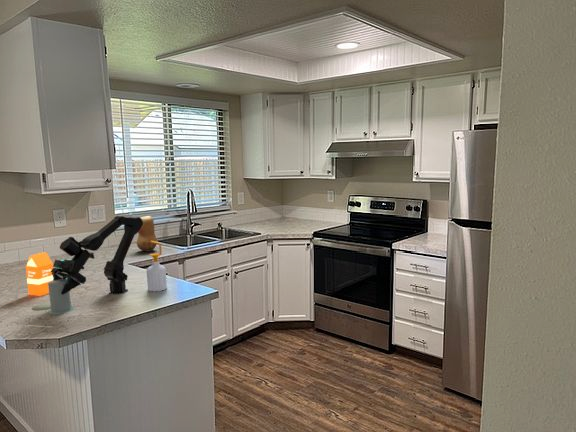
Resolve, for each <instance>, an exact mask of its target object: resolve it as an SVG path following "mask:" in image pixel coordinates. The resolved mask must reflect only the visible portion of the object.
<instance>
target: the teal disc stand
mask: <svg viewBox="0 0 576 432" xmlns="http://www.w3.org/2000/svg"><path fill="white" fill-rule="evenodd" d="M71 307H72V308H71V309H70V310H67V311H64V312H59V313H54V312H52V311H51V309H48V311H47V312H48V314H50V315H51V314H52V315H59V314H65V313H68V312H71V311H73V310H74V309H75V307H74V306H73V305H71Z"/></svg>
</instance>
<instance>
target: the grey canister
mask: <svg viewBox="0 0 576 432" xmlns="http://www.w3.org/2000/svg"><path fill="white" fill-rule="evenodd" d="M66 283H67V279H58V280H53V281H50V282H49V283H48V288H49V293H48V295H49V303H50V305H51V311H52V312H54V313H59V312H64V311H67V310H70V309H71V308H72V307H71V306H72V301H71V293H70V292H71V290H70V291H68V292H67V293H65V294H64V295H63V294H61V292H62V290H63V288H64V287H65V285H66Z"/></svg>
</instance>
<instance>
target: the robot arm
mask: <svg viewBox="0 0 576 432" xmlns="http://www.w3.org/2000/svg"><path fill="white" fill-rule="evenodd" d="M122 225H123V230H124V233H123V235H122V237H121V240H120V243H119V245H118V247H117V248H116V251H115V253H114V256H113V258H112V259H111V260H110V261H109V260H107V261H106V264H105V266H104V267H103V274H104V276H105V277H106V278H107V280H108V281H109V283H108V284H109V292H108V294H109V295H122V294H124V293H126V292H127V291H128V290H129V289H127V286H126V281H128V278H129V276H128V274H127V273H125V272H124V269H125V267H124V266H125V265H124V261H125V259H126V256H127V254H128V252H129V250H130V247H131V244H132V242H133V240H134V237H135V235H137V234H139V233H138V232H139V231H140V229H141V227H142V226H143V221H142V219H141V217H140V216H139V217H138V216H129V217H127V216H123V215H116V216H115V217H114V218H113V219H112V220H110V221H109V222H108V223H107V224H105V225H104V226H103V227H102V228H101V229H99V230H98V231H97V232H94V233H92V234H90V235H87V236H86V237H84V238H83V239H82V240H80V241H78V240H76V239H75V237H73V236H69V237H68V238H66V239H65V240H63V241H62V242H61V243H60V245H59V249H60V250H62V251H63V252H64V253H65V254H67V255H68V256H70V257H72V258H71V259H66V258H65V259H63V260H64V261H60V260H61V259H60V260H59V259H54V262H53V269H52V270H51V273H52V275H53V280H58V279H66V278H67V283H66V285H65V287H64V288H63V290H62V292H61V294H63V295H64V294H65V293H67V292H68V291H70V292H71V291H72V290H73V289H75V288H77V287H78V286H81V285H84V284H85V283H86V282H87V277H86V276H85V275H83V274H82V273H80V272H81V271H82V270H85V267H84V266H85V265H86V263H87V262H88V260H89V259H91V260H92V259H93V260H94V259H95V253H94V252H95V251H98V250H99V249H100V248H101V247H102V245H103V244H104V242H105V240H106V239H107V238H108V237H110V235H111V234H113V233H114V232H115V231H117V229H119V228H120V227H121V226H122ZM90 251H92V252H90ZM93 251H94V252H93ZM56 267H57V268H56ZM60 268H61V269H60Z"/></svg>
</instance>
